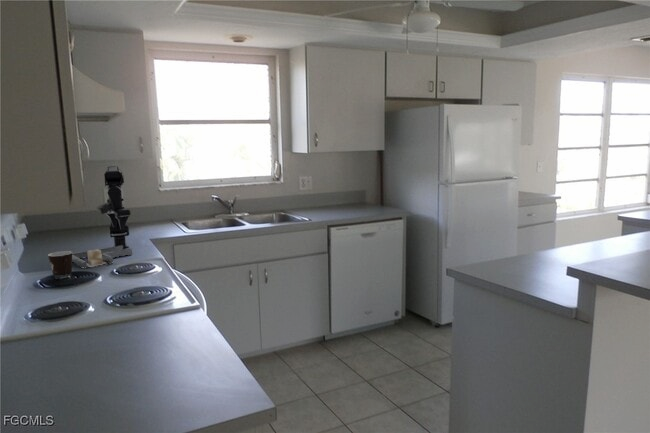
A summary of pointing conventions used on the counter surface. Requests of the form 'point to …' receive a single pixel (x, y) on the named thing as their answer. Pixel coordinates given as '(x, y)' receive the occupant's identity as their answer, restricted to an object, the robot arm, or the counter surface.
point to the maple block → (94, 257)
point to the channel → (106, 254)
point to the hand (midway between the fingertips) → (118, 228)
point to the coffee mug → (61, 262)
